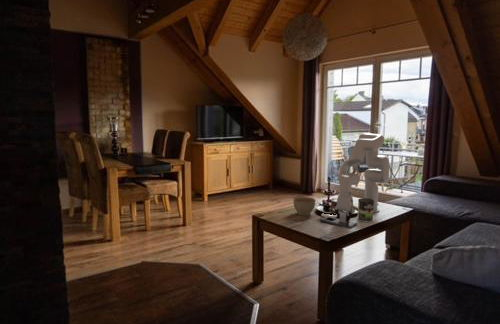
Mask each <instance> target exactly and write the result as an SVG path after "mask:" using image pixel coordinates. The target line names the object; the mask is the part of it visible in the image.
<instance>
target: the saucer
mask: <svg viewBox="0 0 500 324" xmlns="http://www.w3.org/2000/svg"><path fill="white" fill-rule="evenodd" d="M324 213H325V212H323V213H321V215H320V216H321V217H322V218H325V217H327V216H329V217H333V218H337V217H338V214H336V215H333V214H332V215H330V214H324Z"/></svg>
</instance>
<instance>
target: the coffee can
mask: <svg viewBox="0 0 500 324" xmlns="http://www.w3.org/2000/svg"><path fill="white" fill-rule="evenodd" d="M357 200H358V202H357V204H358V205H357V206H358V207H357V220H358V221H359V222H363V223H371V222H373V220H374V213H373V206H374V200H372V199H367V198H359V199H357Z"/></svg>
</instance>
